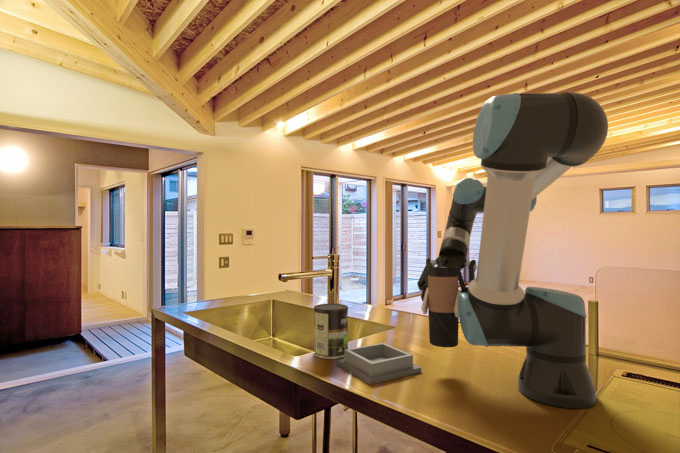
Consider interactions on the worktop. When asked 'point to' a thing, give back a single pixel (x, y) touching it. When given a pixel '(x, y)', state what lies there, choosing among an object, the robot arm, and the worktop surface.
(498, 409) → the worktop surface
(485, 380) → the worktop surface
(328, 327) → the coffee can
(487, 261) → the robot arm
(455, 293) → the travel mug
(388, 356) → the dock
